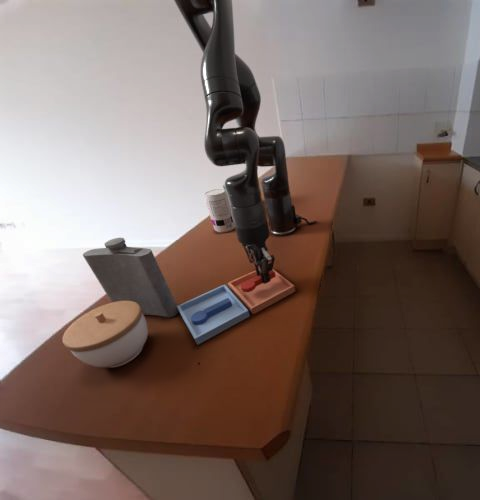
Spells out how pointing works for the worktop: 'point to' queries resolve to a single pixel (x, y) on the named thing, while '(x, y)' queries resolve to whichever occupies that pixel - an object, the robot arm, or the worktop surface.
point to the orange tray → (262, 291)
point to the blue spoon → (210, 311)
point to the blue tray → (217, 321)
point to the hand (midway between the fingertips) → (264, 280)
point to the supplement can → (219, 210)
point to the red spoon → (254, 282)
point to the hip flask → (132, 277)
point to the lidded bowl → (108, 334)
